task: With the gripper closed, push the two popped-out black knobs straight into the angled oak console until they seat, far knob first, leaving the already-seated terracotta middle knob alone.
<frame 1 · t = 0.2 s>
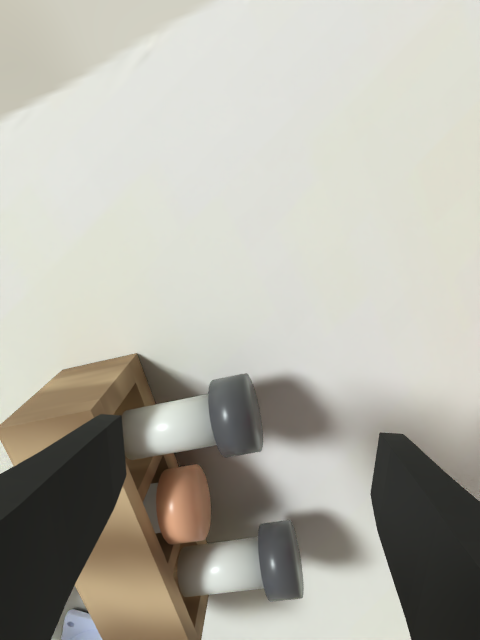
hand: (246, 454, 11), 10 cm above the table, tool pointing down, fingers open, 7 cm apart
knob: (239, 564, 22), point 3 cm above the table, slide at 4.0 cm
console: (179, 467, 24), on the table
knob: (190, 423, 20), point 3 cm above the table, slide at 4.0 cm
knob middle: (144, 509, 22), point 3 cm above the table, slide at 0.0 cm
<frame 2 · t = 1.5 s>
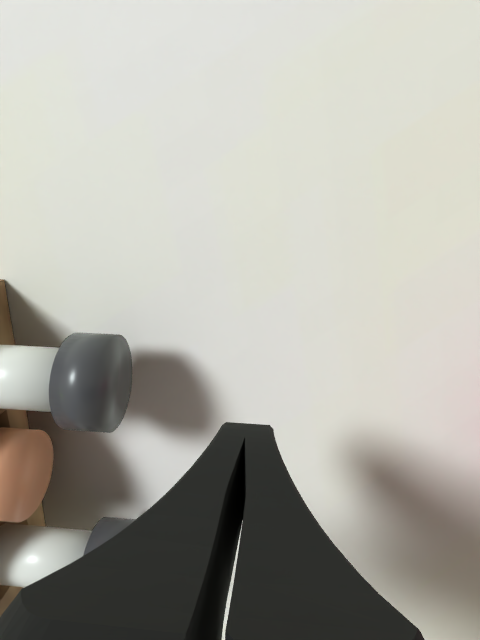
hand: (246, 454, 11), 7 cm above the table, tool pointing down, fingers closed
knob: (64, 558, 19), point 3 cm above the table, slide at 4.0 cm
console: (29, 429, 20), on the table
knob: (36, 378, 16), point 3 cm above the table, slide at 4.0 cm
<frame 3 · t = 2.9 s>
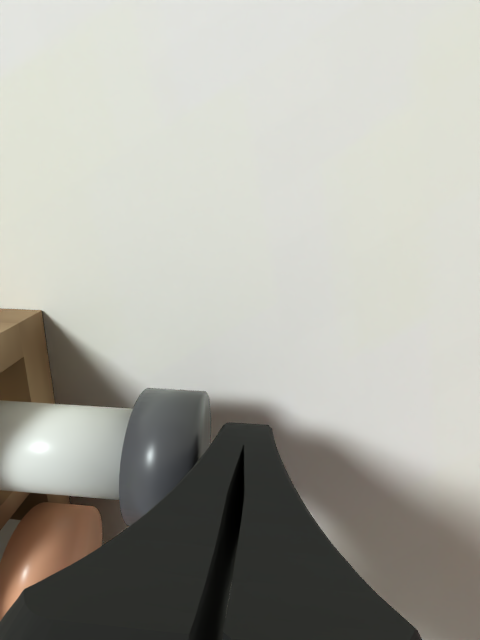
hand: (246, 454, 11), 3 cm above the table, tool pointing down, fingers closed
console: (68, 493, 16), on the table
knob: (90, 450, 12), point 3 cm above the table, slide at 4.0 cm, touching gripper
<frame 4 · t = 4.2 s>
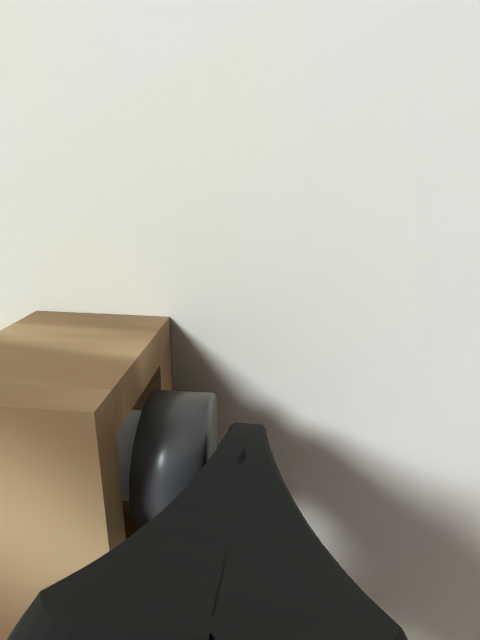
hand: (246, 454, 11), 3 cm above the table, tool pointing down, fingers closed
console: (176, 502, 16), on the table
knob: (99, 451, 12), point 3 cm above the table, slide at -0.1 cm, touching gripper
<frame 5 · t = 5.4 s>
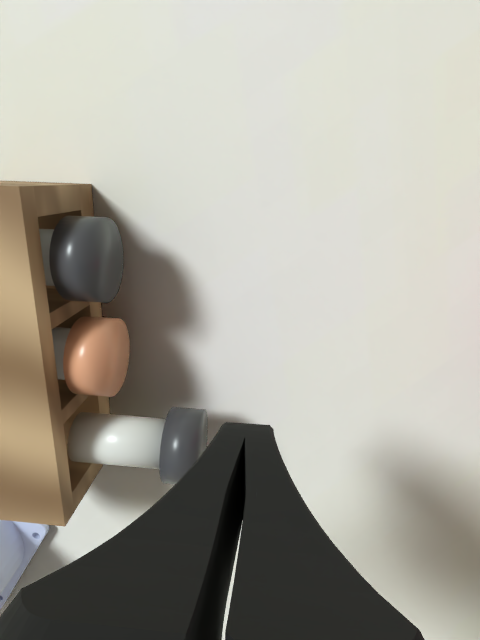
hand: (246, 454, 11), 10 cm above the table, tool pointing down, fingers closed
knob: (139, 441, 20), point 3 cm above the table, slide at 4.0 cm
console: (103, 331, 22), on the table
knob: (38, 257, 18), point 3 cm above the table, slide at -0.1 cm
knob middle: (51, 352, 19), point 3 cm above the table, slide at 0.0 cm
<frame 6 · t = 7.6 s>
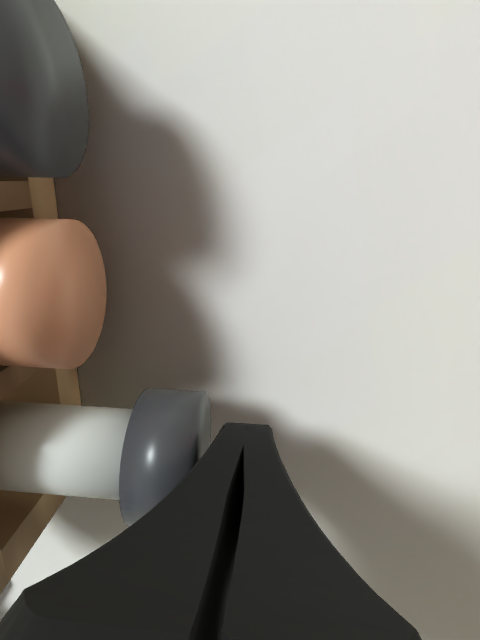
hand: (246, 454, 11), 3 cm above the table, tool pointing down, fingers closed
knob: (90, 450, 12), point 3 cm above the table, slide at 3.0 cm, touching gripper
console: (64, 266, 13), on the table
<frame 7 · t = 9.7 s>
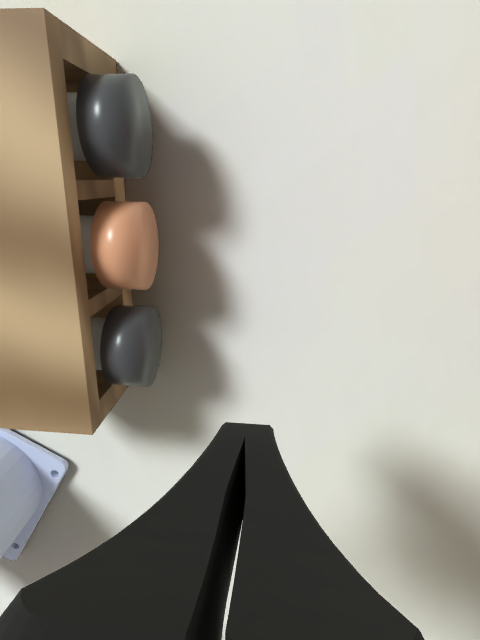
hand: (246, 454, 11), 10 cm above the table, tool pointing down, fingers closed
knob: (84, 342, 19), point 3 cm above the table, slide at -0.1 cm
console: (128, 235, 20), on the table
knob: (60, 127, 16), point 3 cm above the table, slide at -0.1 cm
knob middle: (75, 244, 17), point 3 cm above the table, slide at 0.0 cm
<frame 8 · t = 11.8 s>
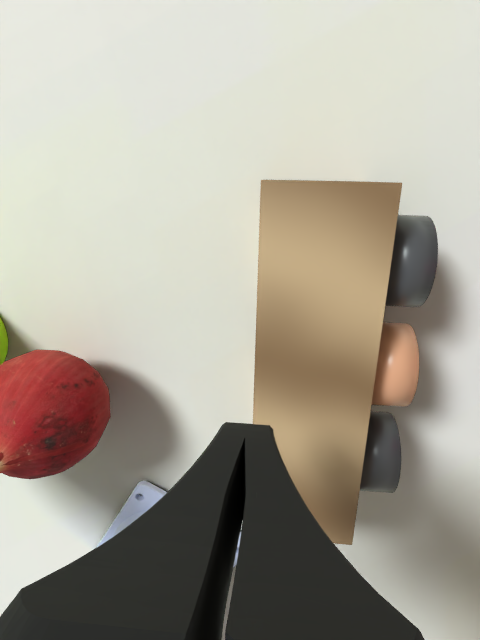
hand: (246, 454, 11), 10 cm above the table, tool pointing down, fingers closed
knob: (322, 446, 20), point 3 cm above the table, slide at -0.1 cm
console: (348, 336, 21), on the table
onion: (82, 374, 23), on the table
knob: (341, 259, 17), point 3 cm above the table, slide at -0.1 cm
knob middle: (332, 360, 18), point 3 cm above the table, slide at 0.0 cm
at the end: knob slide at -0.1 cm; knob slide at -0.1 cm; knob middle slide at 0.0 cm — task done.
